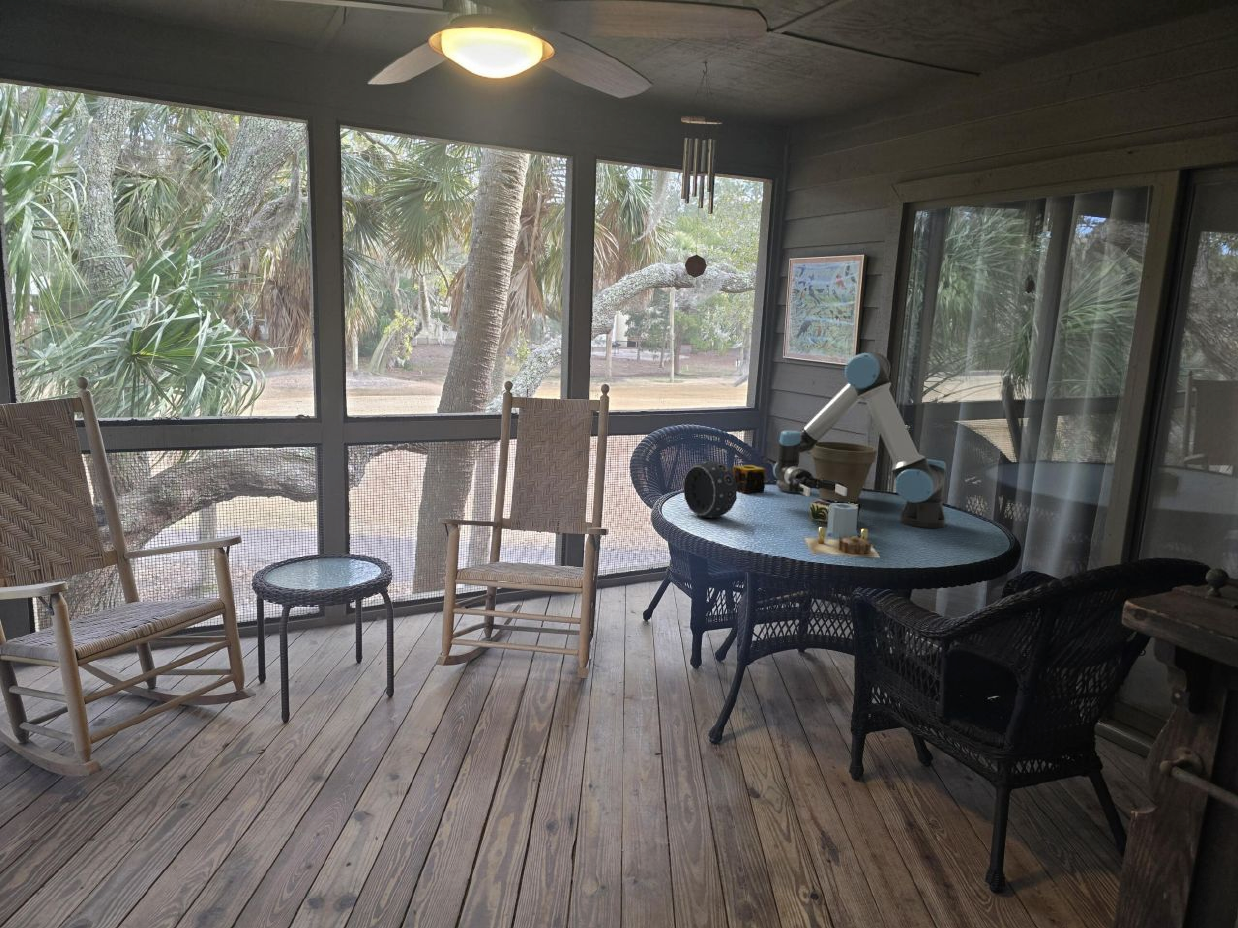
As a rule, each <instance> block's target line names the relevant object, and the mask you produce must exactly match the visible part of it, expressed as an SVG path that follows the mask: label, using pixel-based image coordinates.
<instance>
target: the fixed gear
mask: <svg viewBox="0 0 1238 928" xmlns="http://www.w3.org/2000/svg"><path fill="white" fill-rule="evenodd" d="M838 540H839V546H838V549H839V550H842V551H841V552H843V553H850V554H852V555H854V554H859V555H864V554H870V551H871V545H872V541H869V540H868V539H867V540H866V539H860V537H859V536H858V537H856V536H852V538H851V537H846V538H839V539H838Z"/></svg>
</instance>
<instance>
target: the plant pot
mask: <svg viewBox="0 0 1238 928" xmlns="http://www.w3.org/2000/svg"><path fill="white" fill-rule="evenodd" d="M877 451H878V450H877V448H876V447H873V446H870V445H866V444H860V443H854V442H844V441H818V442H817V443H816V445H815V447H814V448H813V449H812V450H810V455H811V457H812V459H813V464H814V472H815V476H816V477H815V478H816V479H820V478H823V479H826V480H830V481H834V482H840V483H843V484H844V485H843V487H845V488H847V495H846V496H843V495H841V494H839V493H837V492H835V491H833V490H828V489H822V488H820V489H817V490H818V494H819V498H820V499H822V500H824V501H827V500H830V501H829V502H831V501H837V502H854V503H857V502H858V500H859V498H860V496H861V493H862V491H863V488H864V486H865V484H866V480H867V477H868V475H869V473H870V470H871V468H872V465H873V463H875V461H876V458H877V454H878V453H877ZM837 502H836V503H837Z"/></svg>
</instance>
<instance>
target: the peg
mask: <svg viewBox="0 0 1238 928" xmlns="http://www.w3.org/2000/svg"><path fill="white" fill-rule="evenodd" d="M825 531H826V526H819V527H818V534H817V535H818V536H817V537H818V538H817V539H818V543H819V544H824V543H825V539H826V533H825Z"/></svg>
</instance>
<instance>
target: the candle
mask: <svg viewBox="0 0 1238 928" xmlns="http://www.w3.org/2000/svg"><path fill="white" fill-rule="evenodd" d="M766 470H767V469H766V468H764V467H761V466H758V465H757V466H756V465H753V464H746V465H745V464H743V465H732V473H733V474H734V478H735V481H736V484H737V493H741V494H744V495H750V494H752V495H753V494H759V493H760V494H761V493H764V492H765V488H766V486H765V485H766Z"/></svg>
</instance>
